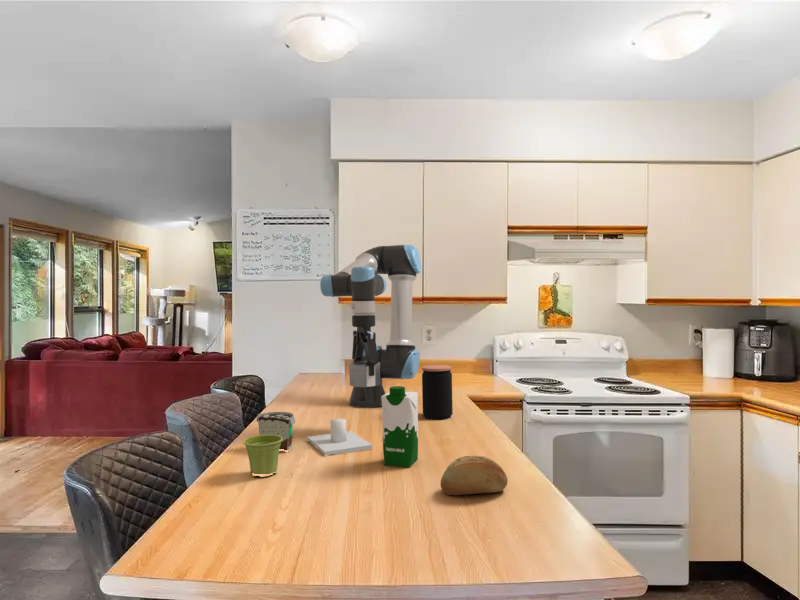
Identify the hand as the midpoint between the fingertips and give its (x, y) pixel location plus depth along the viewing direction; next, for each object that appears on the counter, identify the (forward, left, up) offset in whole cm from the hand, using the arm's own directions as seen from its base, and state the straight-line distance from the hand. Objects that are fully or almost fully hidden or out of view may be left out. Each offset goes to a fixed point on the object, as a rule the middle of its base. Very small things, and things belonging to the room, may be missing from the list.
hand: (365, 383), depth 173 cm
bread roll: (+62, +1, -16) cm, 64 cm away
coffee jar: (-6, +30, -16) cm, 34 cm away
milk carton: (+35, -4, -16) cm, 38 cm away
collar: (0, 0, 0) cm, 0 cm away
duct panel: (+11, -13, -15) cm, 23 cm away
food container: (+6, -29, -16) cm, 33 cm away
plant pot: (+27, -38, -16) cm, 49 cm away
